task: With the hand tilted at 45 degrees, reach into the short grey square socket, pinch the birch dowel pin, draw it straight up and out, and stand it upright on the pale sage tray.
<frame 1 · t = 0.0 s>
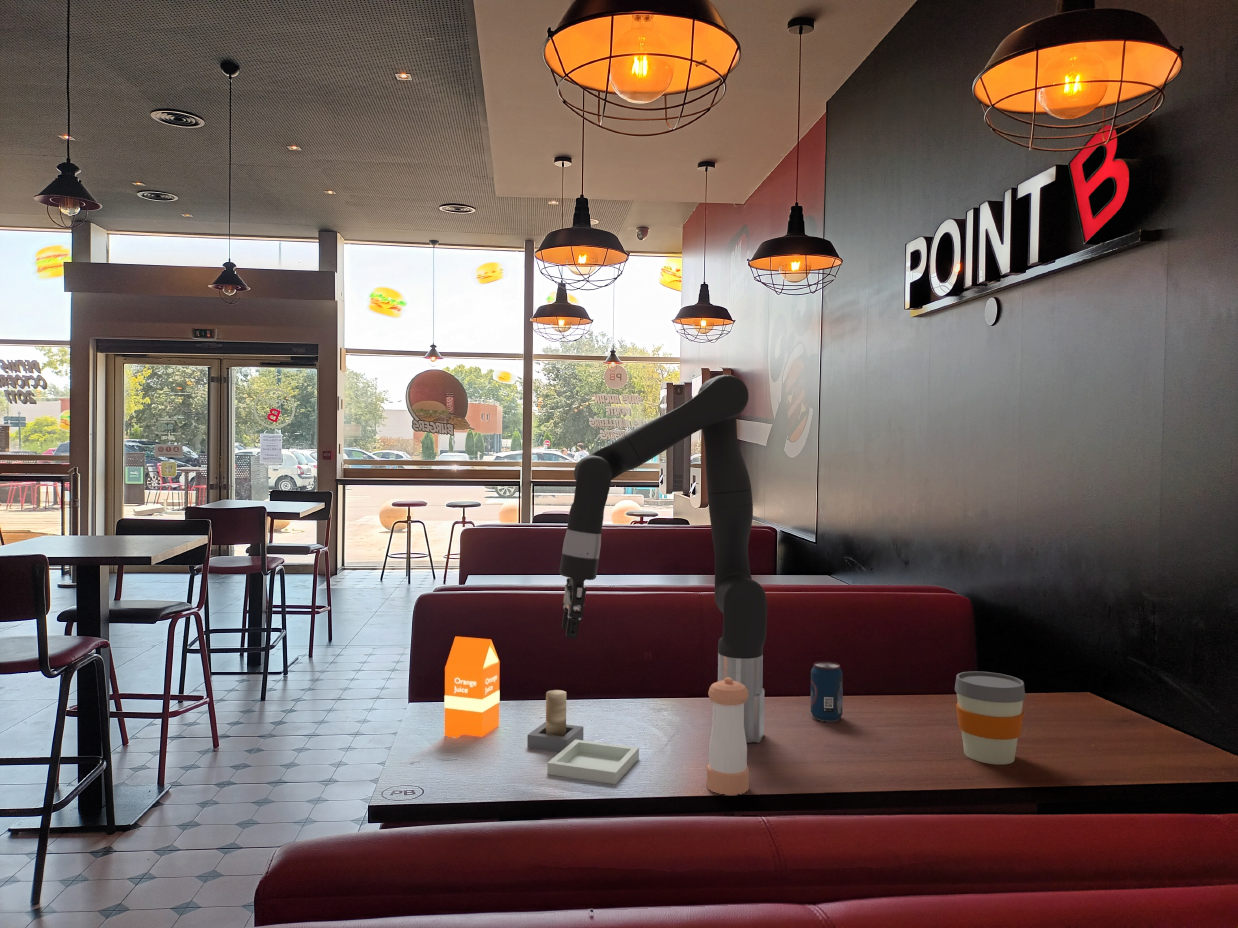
hand: (568, 633, 160), 22 cm above the table, tool pointing down, fingers open, 8 cm apart
tray: (594, 771, 146), on the table
orange juice: (472, 734, 166), on the table
soda can: (826, 718, 178), on the table
reusable coffee cup: (989, 756, 156), on the table
grey square socket: (555, 748, 158), on the table
dowel: (555, 743, 158), point 1 cm above the table, touching grey square socket
pepper shaker: (727, 788, 139), on the table
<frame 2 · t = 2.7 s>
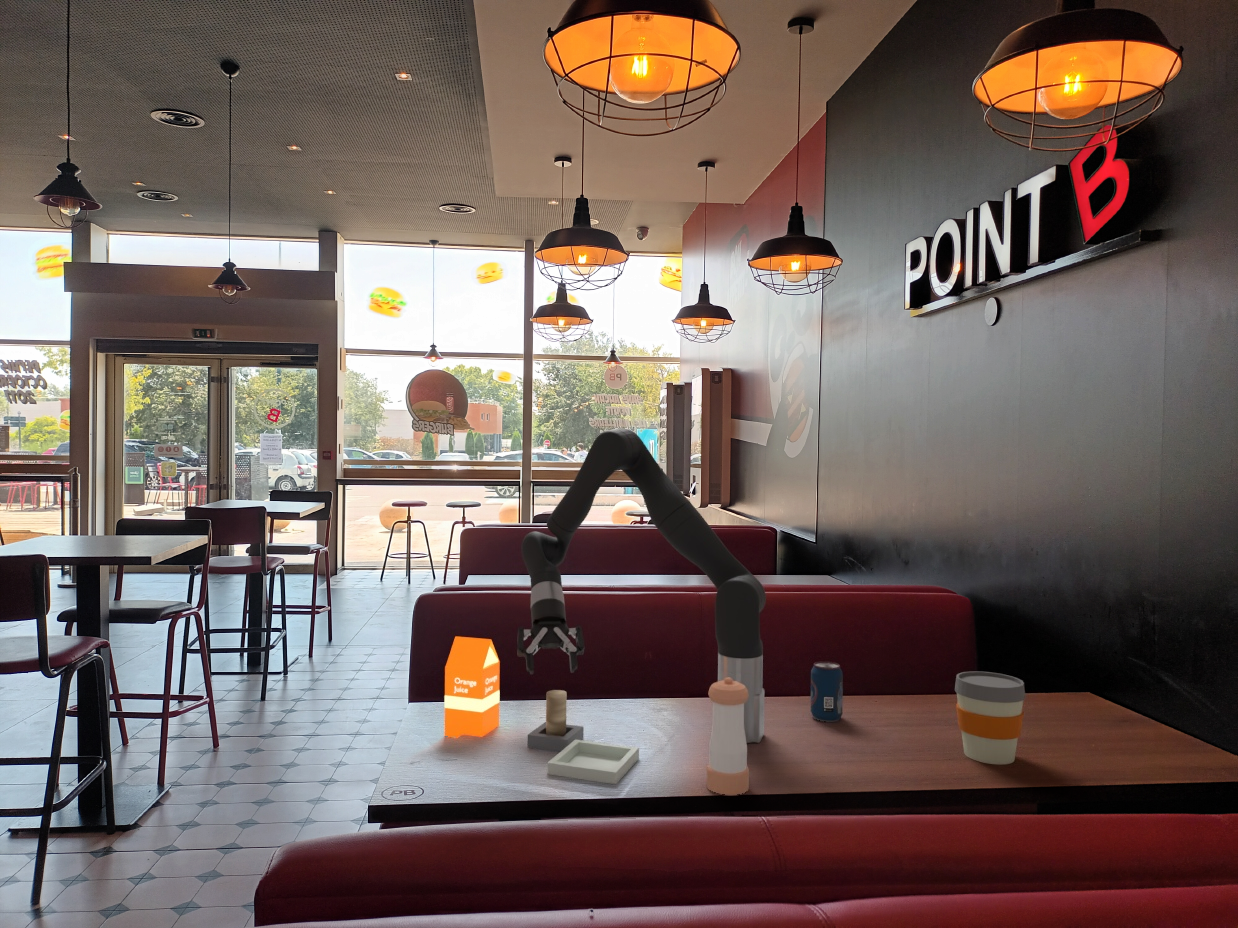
hand: (552, 671, 166), 13 cm above the table, tool tilted 45°, fingers open, 8 cm apart
nothing on the table moved.
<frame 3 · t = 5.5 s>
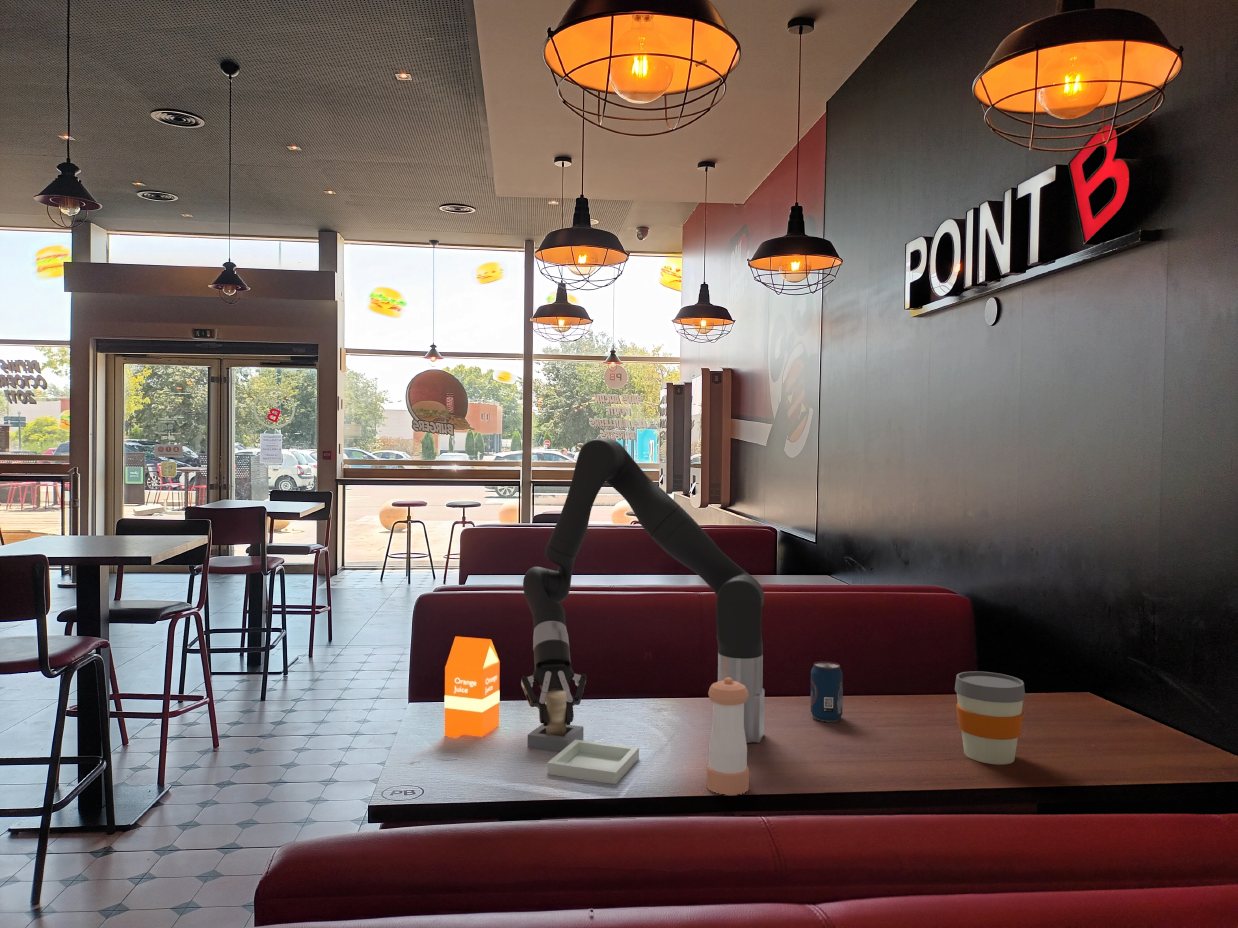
hand: (557, 723, 156), 6 cm above the table, tool tilted 45°, fingers closed on dowel, 4 cm apart
dowel: (555, 742, 158), point 1 cm above the table, touching grey square socket, gripper
everything else where it was.
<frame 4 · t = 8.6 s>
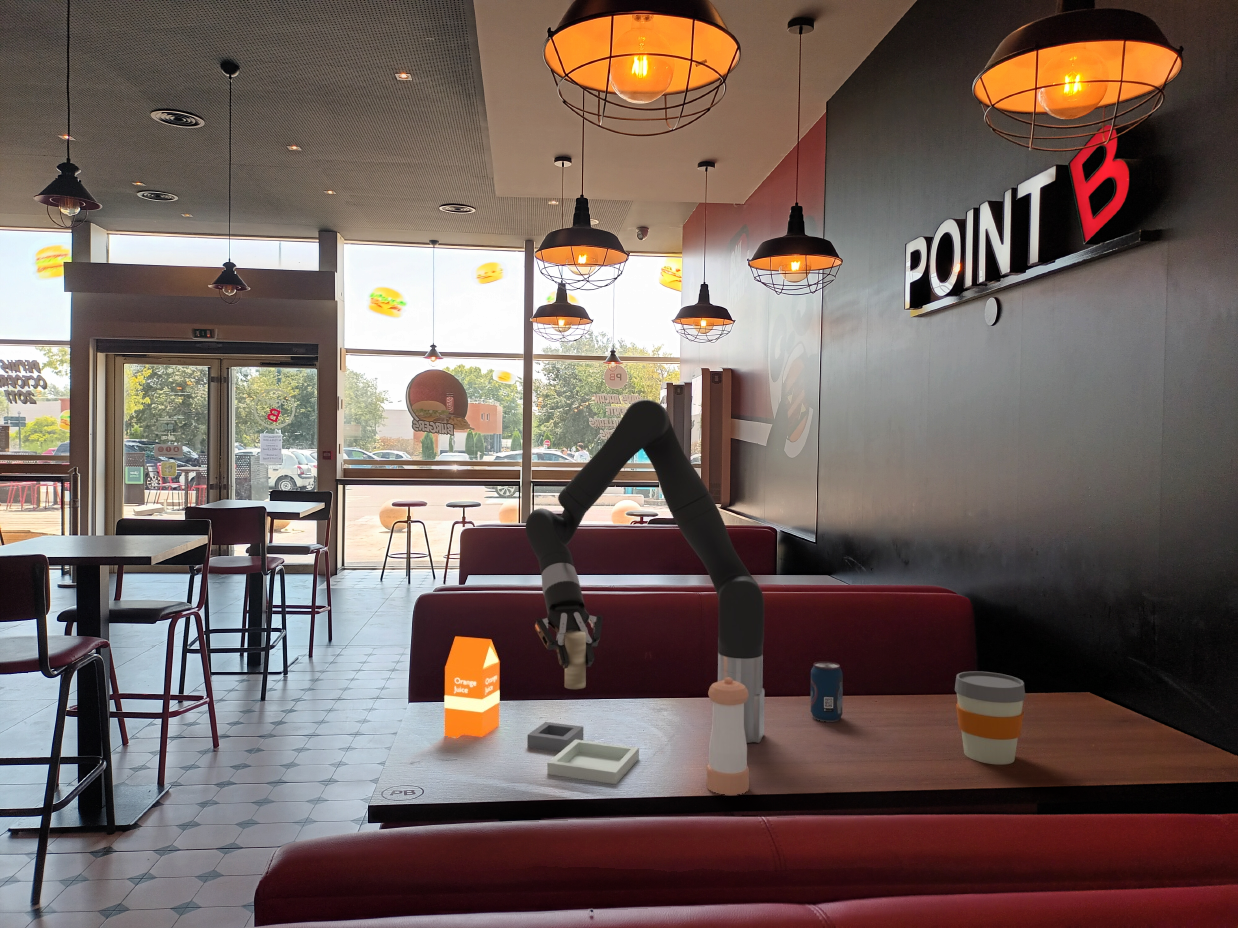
hand: (578, 664, 149), 19 cm above the table, tool tilted 45°, fingers closed on dowel, 4 cm apart
dowel: (575, 685, 151), point 14 cm above the table, touching gripper
everything else where it was.
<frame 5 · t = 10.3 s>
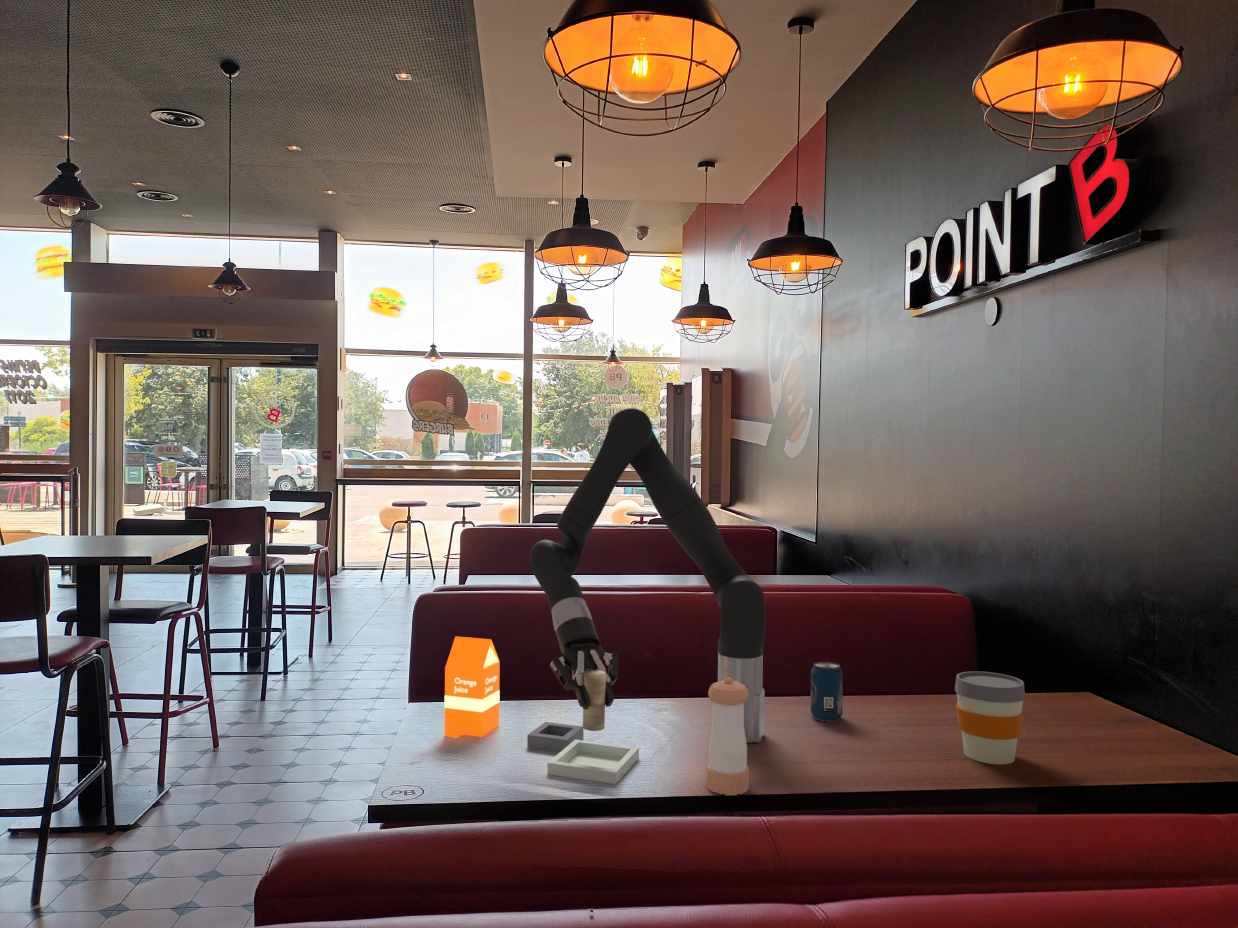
hand: (598, 705, 144), 13 cm above the table, tool tilted 45°, fingers closed on dowel, 4 cm apart
dowel: (593, 727, 146), point 8 cm above the table, touching gripper
everything else where it was.
when the fingers open (7 cm above the table, at t = 11.7 s): dowel drops 1 cm, resting on tray.
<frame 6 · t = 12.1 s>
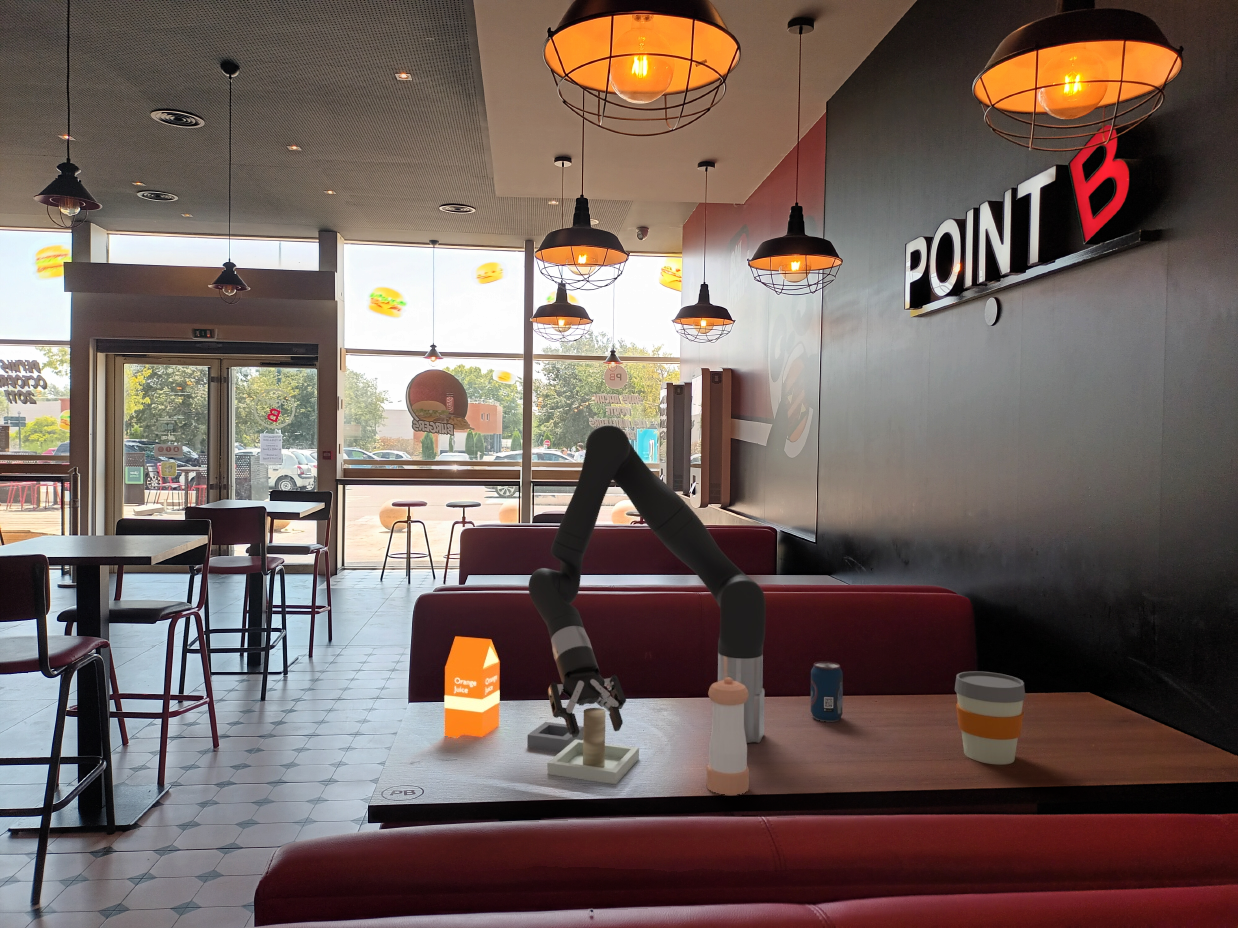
hand: (597, 732, 145), 8 cm above the table, tool tilted 45°, fingers open, 8 cm apart
dowel: (593, 765, 146), point 1 cm above the table, touching tray
everything else where it was.
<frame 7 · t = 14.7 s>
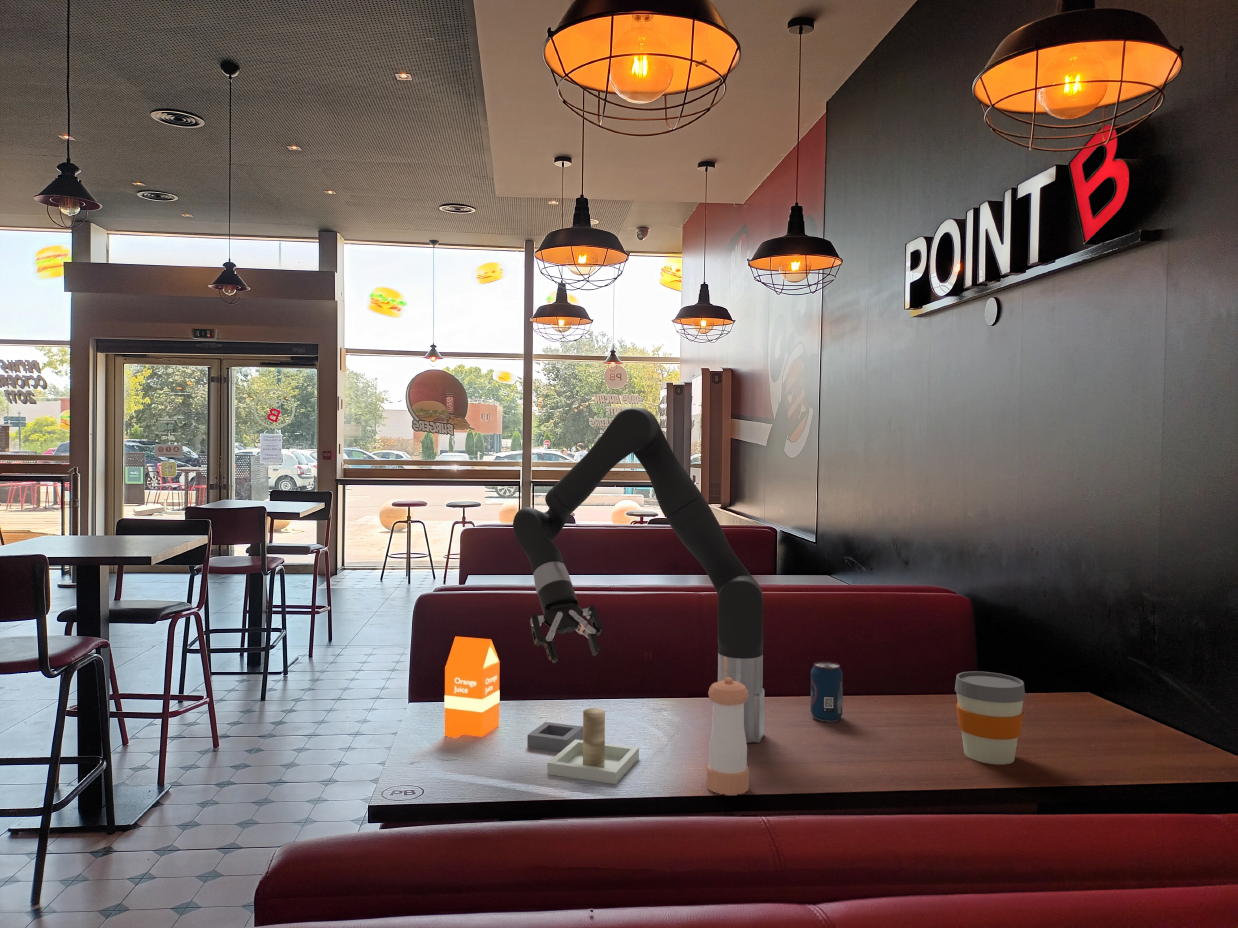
hand: (576, 657, 158), 18 cm above the table, tool tilted 40°, fingers open, 8 cm apart
nothing on the table moved.
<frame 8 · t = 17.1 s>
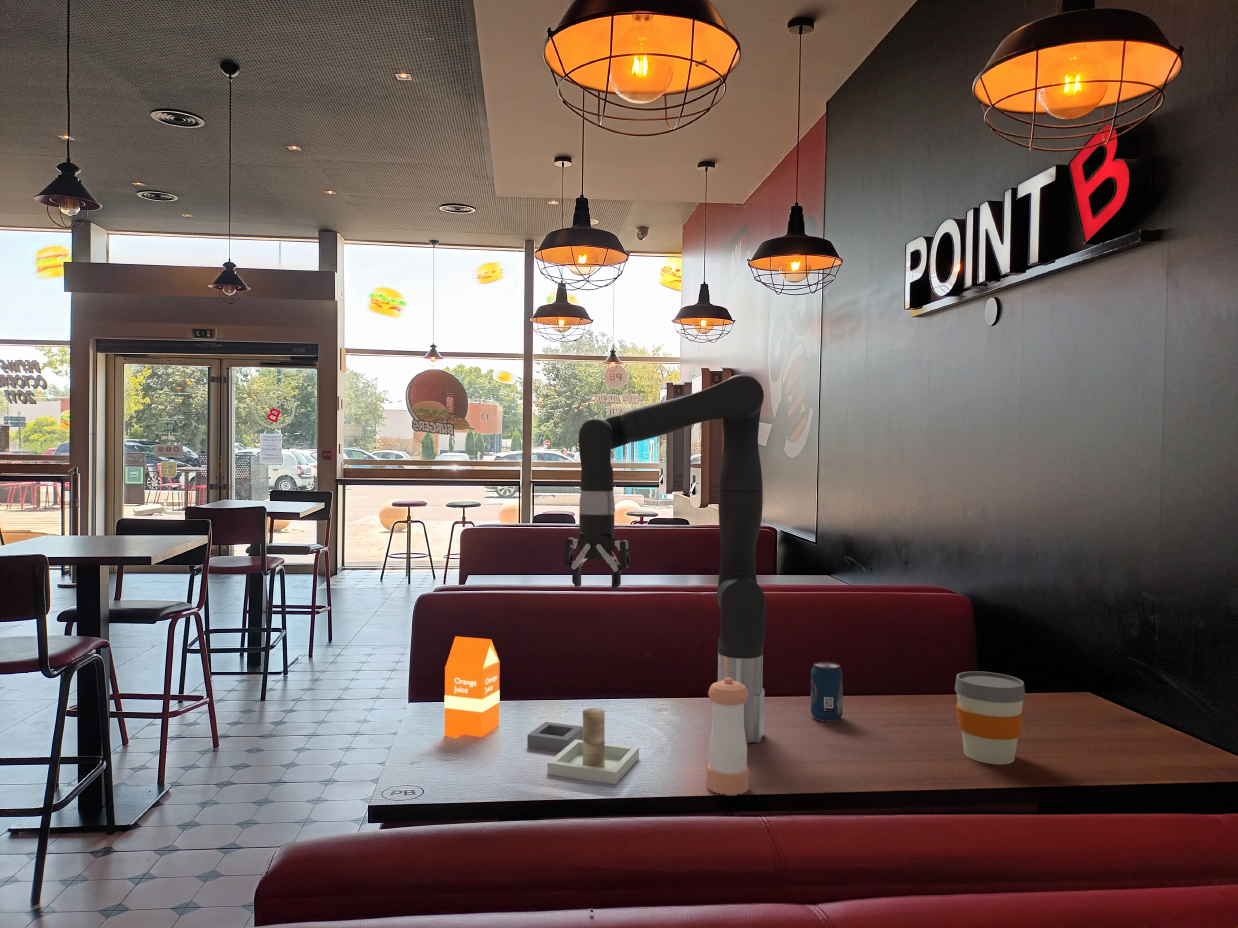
hand: (596, 587, 170), 30 cm above the table, tool pointing down, fingers open, 8 cm apart
nothing on the table moved.
at the end: dowel inside the target area on the tray (0.1 cm from its centre), point 1.0 cm above the tray's base; dowel tilted 0°; the gripper is holding nothing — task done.
